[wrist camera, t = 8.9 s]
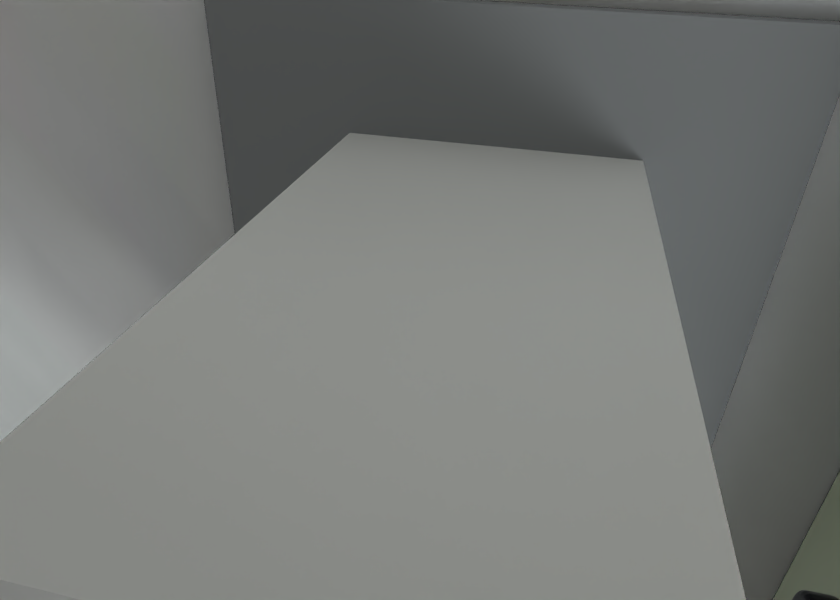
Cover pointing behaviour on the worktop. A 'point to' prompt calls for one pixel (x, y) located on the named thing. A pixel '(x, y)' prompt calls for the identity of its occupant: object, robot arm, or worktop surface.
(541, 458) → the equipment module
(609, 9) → the rubber mat
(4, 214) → the worktop surface
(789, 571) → the case
